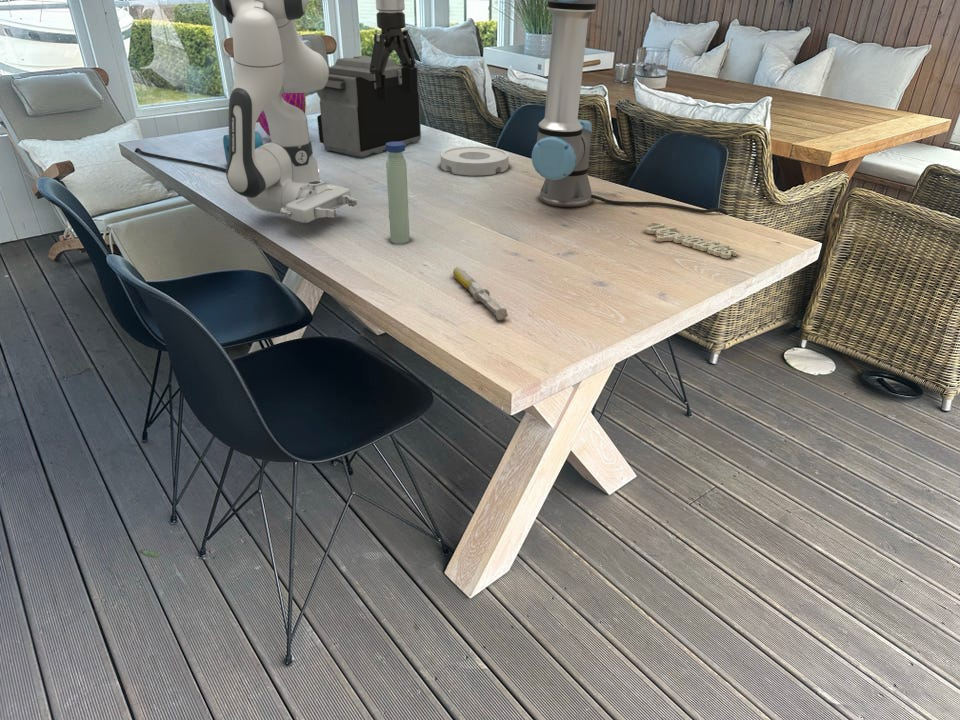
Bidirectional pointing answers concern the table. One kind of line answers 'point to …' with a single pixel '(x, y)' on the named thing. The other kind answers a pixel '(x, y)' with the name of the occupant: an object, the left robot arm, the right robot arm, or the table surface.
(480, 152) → the ashtray
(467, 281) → the syringe
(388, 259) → the table surface
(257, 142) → the camera mount
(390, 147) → the cap
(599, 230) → the table surface
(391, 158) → the bottle
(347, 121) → the electronic device
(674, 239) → the decorative sign
